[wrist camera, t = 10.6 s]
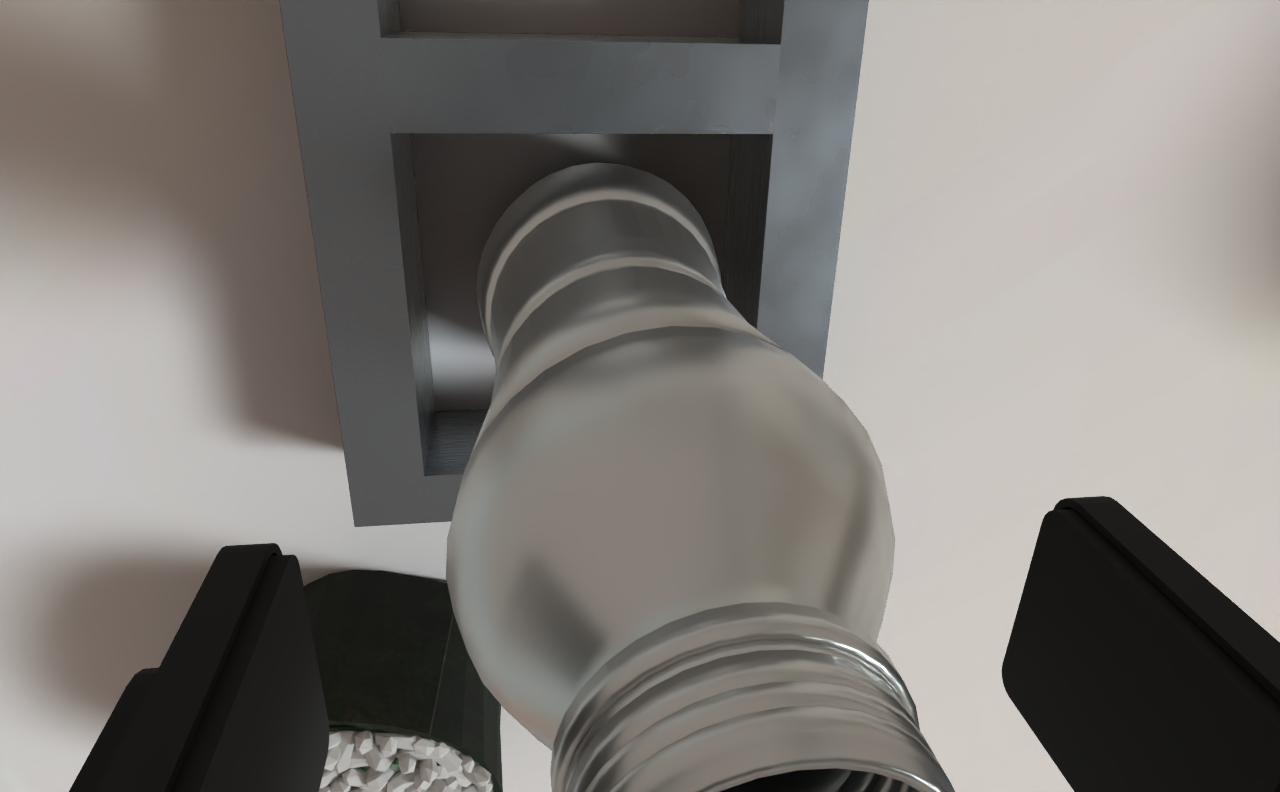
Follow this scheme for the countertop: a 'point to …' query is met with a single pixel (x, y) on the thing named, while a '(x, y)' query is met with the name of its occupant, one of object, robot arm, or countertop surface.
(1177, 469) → the countertop surface
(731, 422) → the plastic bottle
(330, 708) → the sushi
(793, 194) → the tray
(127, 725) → the robot arm
